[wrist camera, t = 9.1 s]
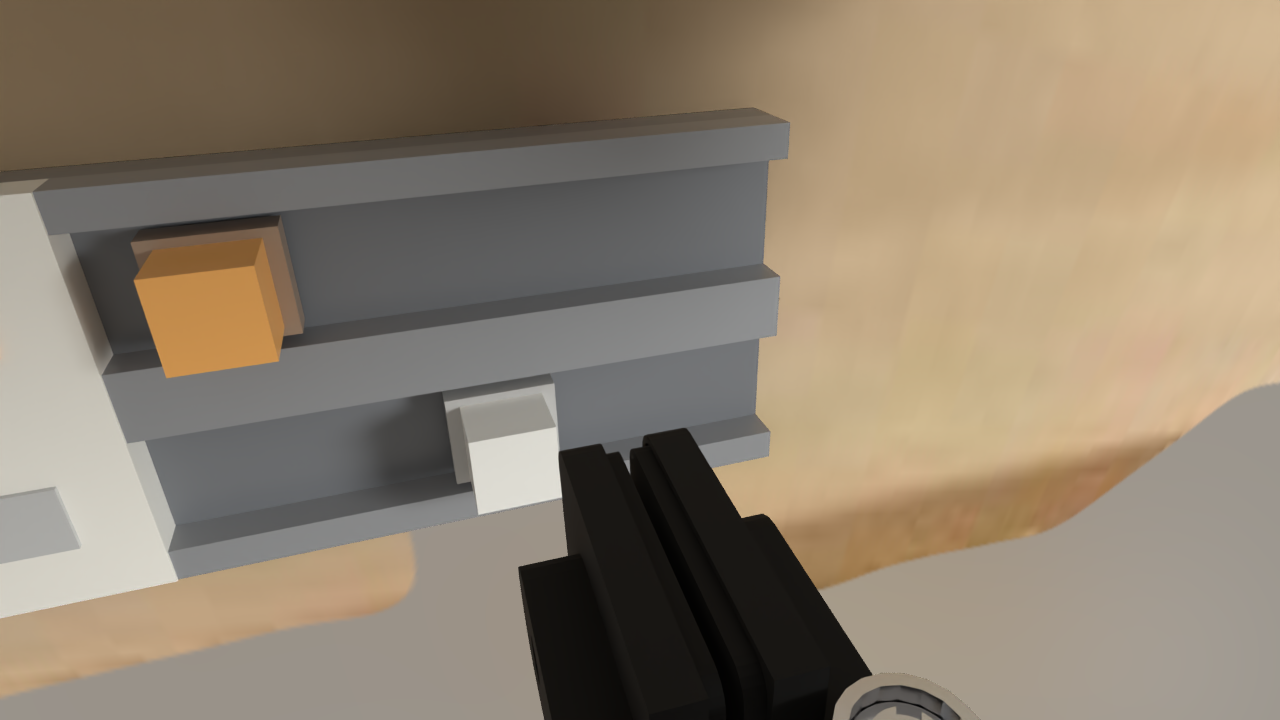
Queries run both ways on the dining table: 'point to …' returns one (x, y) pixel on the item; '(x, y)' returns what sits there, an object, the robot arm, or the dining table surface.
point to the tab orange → (217, 293)
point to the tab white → (505, 441)
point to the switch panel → (451, 274)
